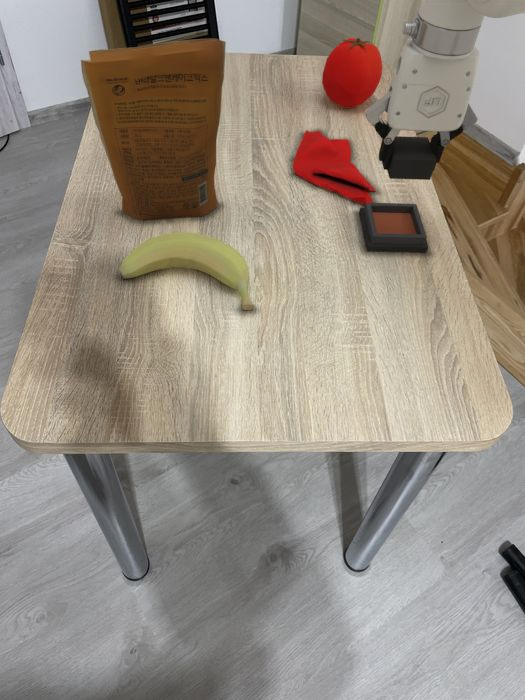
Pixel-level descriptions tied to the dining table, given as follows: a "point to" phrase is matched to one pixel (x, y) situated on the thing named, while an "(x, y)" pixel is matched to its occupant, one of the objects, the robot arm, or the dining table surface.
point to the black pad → (412, 159)
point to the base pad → (393, 228)
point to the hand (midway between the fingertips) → (407, 164)
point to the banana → (191, 259)
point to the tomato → (352, 72)
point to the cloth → (331, 166)
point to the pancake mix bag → (160, 123)
